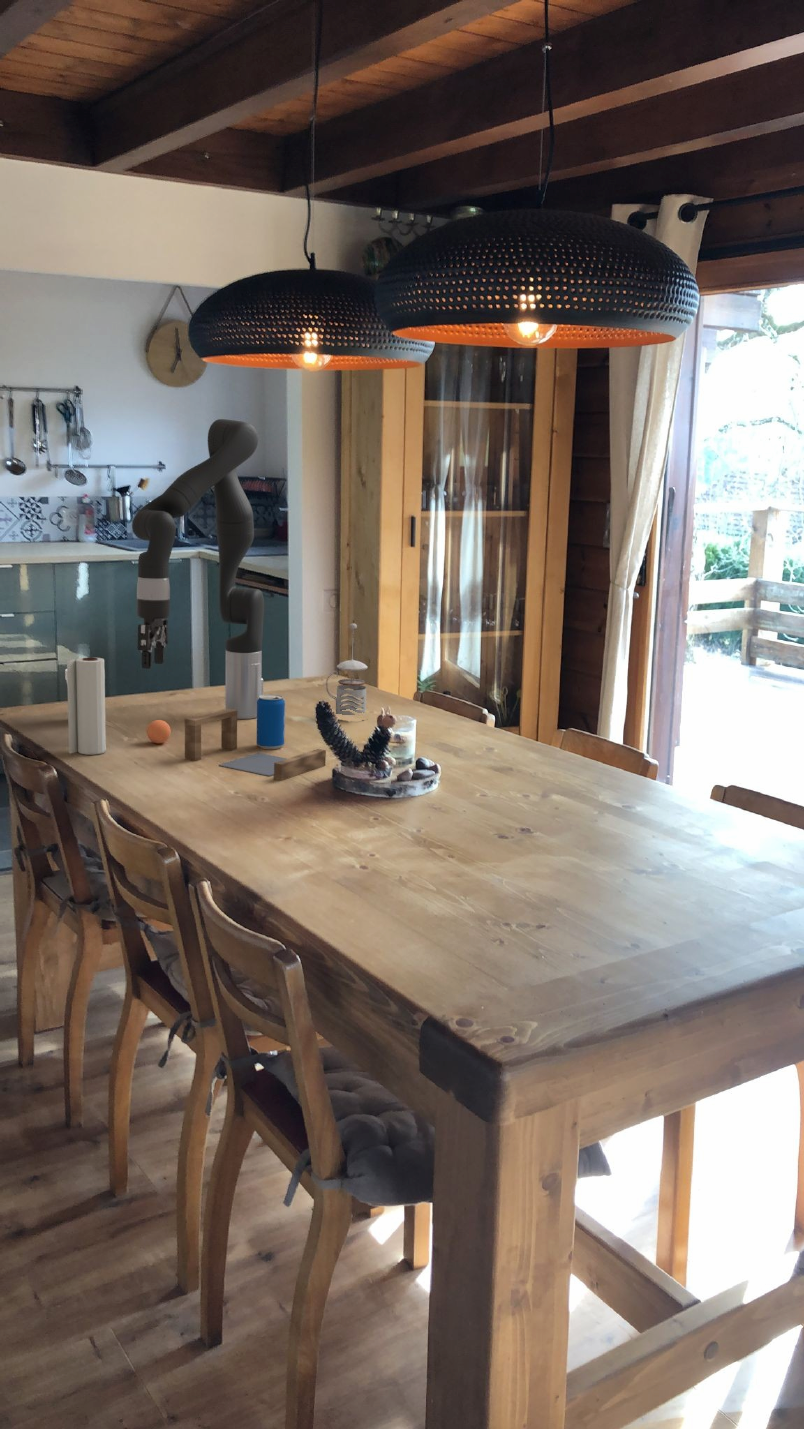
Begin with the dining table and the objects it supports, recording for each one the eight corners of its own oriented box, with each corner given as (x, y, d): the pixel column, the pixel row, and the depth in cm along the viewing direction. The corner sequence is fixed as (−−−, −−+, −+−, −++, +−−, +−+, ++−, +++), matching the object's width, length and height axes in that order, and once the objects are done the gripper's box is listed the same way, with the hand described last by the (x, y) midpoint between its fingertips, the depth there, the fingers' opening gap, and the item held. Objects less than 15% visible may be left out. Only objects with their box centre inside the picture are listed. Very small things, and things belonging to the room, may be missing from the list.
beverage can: (282, 750, 277) (283, 699, 274) (254, 749, 277) (255, 698, 274) (285, 744, 283) (286, 694, 281) (258, 742, 283) (259, 693, 281)
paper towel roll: (109, 749, 272) (108, 657, 267) (100, 756, 266) (98, 661, 261) (78, 747, 272) (76, 655, 268) (69, 754, 266) (66, 659, 262)
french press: (368, 722, 309) (371, 626, 304) (323, 720, 309) (326, 625, 304) (370, 714, 319) (373, 621, 313) (326, 712, 319) (328, 619, 313)
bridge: (184, 759, 266) (184, 718, 264) (226, 746, 278) (227, 708, 276) (195, 761, 265) (195, 720, 263) (236, 748, 277) (237, 710, 275)
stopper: (318, 764, 266) (318, 748, 265) (325, 765, 265) (325, 750, 264) (273, 778, 253) (274, 762, 252) (281, 780, 252) (281, 764, 251)
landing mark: (258, 753, 273) (258, 752, 273) (308, 763, 266) (308, 762, 266) (218, 765, 261) (218, 764, 261) (269, 776, 254) (269, 775, 254)
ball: (158, 739, 283) (157, 716, 282) (175, 742, 280) (175, 719, 279) (141, 743, 279) (141, 720, 277) (159, 747, 276) (159, 723, 275)
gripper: (158, 600, 271) (158, 671, 274) (178, 595, 285) (178, 662, 288) (126, 598, 272) (126, 669, 275) (148, 593, 286) (148, 660, 289)
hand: (153, 665), depth 281 cm, fingers open, 8 cm apart
